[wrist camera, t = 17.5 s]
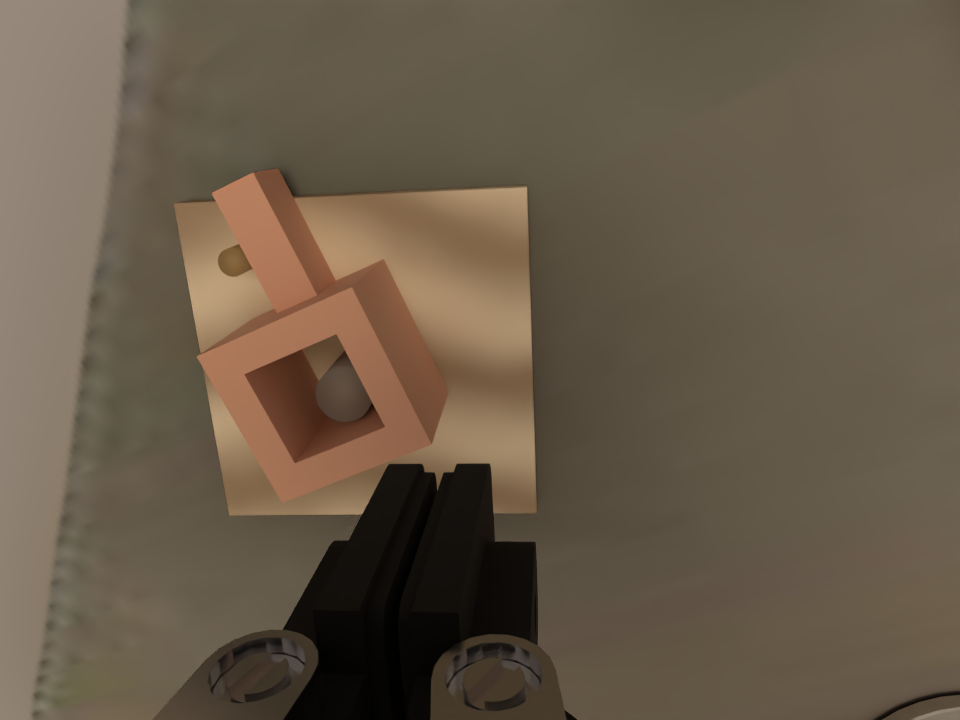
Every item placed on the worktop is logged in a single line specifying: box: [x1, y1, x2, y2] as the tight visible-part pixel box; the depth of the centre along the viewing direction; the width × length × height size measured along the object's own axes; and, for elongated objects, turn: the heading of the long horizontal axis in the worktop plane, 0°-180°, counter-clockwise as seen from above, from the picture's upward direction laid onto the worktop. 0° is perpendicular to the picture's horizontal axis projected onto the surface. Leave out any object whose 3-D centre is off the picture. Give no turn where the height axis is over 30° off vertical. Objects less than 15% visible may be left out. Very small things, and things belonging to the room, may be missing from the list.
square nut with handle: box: [197, 168, 449, 503], centre depth 31 cm, size 12×7×6 cm, turn 24°
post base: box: [174, 185, 537, 515], centre depth 33 cm, size 16×16×5 cm
